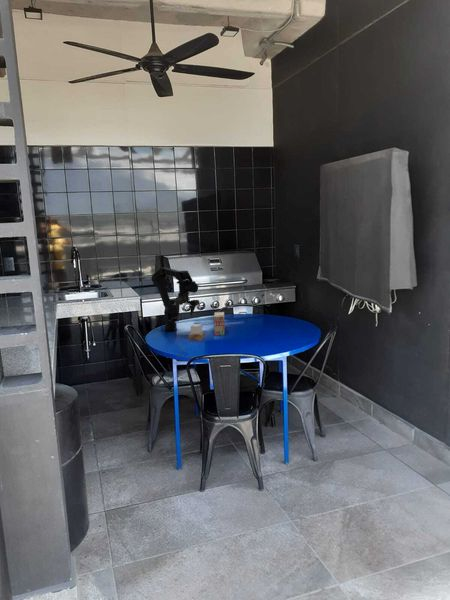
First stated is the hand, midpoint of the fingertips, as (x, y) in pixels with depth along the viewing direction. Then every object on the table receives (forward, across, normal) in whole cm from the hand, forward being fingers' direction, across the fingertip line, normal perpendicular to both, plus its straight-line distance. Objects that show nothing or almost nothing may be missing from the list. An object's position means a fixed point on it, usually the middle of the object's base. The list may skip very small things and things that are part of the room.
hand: (184, 315), depth 285 cm
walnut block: (+12, +12, -8) cm, 19 cm away
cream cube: (+8, +12, -8) cm, 17 cm away
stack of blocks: (+12, +18, +14) cm, 26 cm away
